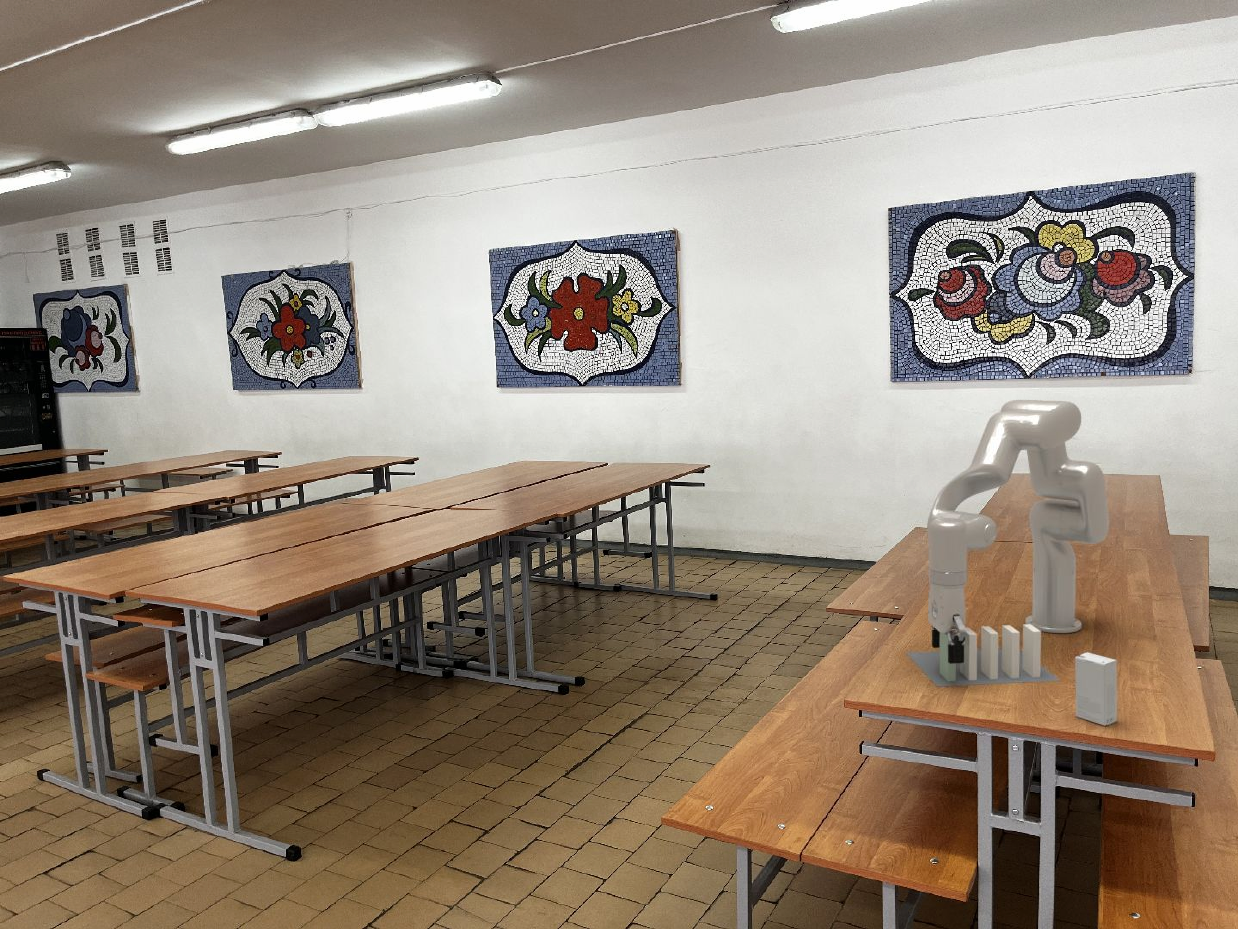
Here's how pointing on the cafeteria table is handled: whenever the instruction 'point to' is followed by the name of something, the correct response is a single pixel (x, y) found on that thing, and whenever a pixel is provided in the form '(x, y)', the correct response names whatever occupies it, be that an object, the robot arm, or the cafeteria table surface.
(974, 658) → the domino
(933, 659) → the slate mat
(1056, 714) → the cafeteria table surface
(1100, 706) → the skincare box
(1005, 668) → the domino
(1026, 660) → the domino
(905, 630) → the cafeteria table surface
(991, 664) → the domino
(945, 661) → the domino end
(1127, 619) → the cafeteria table surface
